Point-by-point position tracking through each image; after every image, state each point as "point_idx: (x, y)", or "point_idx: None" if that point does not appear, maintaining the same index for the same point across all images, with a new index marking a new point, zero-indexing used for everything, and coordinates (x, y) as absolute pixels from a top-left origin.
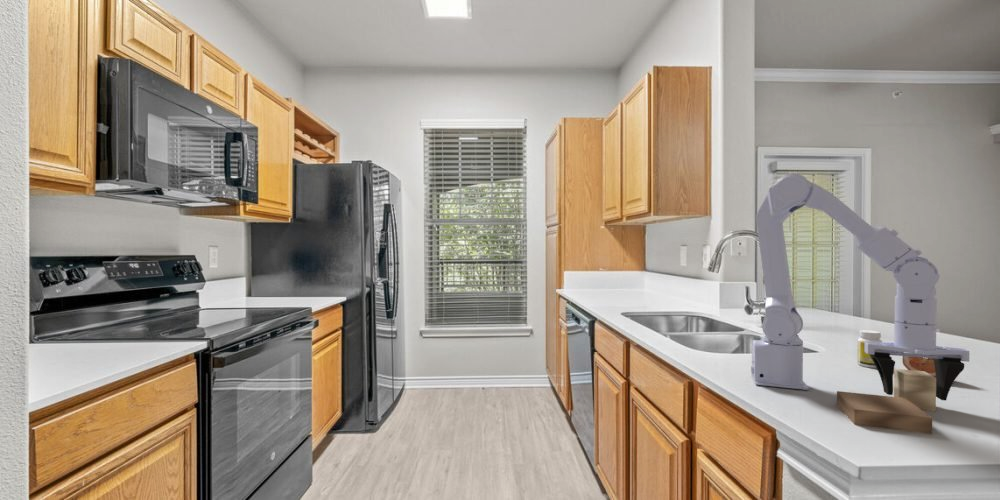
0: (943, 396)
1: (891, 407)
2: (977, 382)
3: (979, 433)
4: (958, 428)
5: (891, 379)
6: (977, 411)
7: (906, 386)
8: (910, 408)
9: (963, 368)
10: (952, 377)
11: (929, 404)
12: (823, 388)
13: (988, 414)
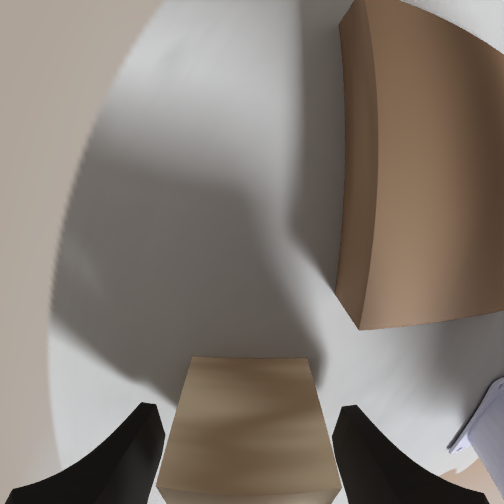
0: (145, 413)
1: (482, 114)
2: None
3: (136, 98)
4: (191, 128)
5: (380, 455)
6: (73, 379)
7: (315, 434)
8: (420, 110)
9: (11, 491)
10: (77, 474)
11: (211, 373)
12: (441, 426)
13: (53, 359)
